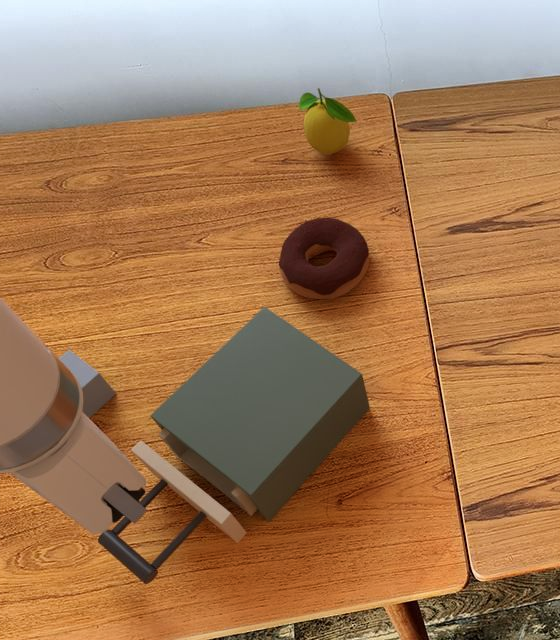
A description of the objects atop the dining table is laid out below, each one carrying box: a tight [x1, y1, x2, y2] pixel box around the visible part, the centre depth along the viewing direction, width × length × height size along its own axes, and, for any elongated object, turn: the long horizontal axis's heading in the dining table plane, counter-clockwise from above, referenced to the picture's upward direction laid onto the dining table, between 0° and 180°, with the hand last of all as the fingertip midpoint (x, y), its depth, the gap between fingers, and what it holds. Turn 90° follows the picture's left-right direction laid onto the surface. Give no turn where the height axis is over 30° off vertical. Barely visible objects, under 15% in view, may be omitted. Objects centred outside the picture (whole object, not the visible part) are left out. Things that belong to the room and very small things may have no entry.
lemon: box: [297, 87, 358, 155], centre depth 92 cm, size 7×6×10 cm
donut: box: [278, 216, 370, 300], centre depth 85 cm, size 10×10×4 cm
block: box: [58, 349, 117, 419], centre depth 76 cm, size 4×4×4 cm
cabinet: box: [150, 306, 371, 522], centre depth 73 cm, size 15×13×8 cm
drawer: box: [97, 428, 257, 585], centre depth 70 cm, size 21×11×6 cm, turn 144°
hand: (124, 501), depth 61 cm, fingers closed
